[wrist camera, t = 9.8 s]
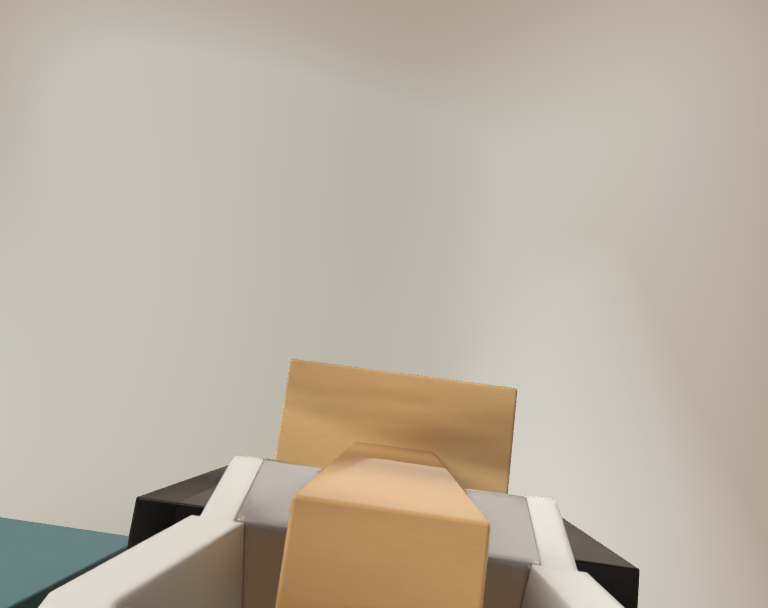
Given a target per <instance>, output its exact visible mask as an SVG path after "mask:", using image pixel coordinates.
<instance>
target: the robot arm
mask: <svg viewBox="0 0 768 608" xmlns="http://www.w3.org/2000/svg"><path fill="white" fill-rule="evenodd" d="M321 471H322V468H320V467H314V466H308V465H302V464H296V463H289V462H283V461H277V460H271V459H266V460H265V459H264V458H257V457H250V456H243V455H237V456H235V457H234V458H233V459H232V460H231V462H230V464H229V465H228V467H227V469H226V471H225V473H224V474H223V476H222V478H221V480H220V482H219V483H218V485H217V487H216V489H215V490H214V492H213V494H212V496H211V498H210V499H209V501H208V503H207V505H206V506H205V508H204V510H203V512H202V514H201V515H200V516H195V515H191V516H189V517H187V518H185V519H183V520H181V521H180V522H178V523H176V524H174V525H172V526H171V527H169V528H167V529H165V530H163V531H161V532H160V533H158V534H156V535H154V536H152V537H150V538H149V539H147V540H145V541H143V542H141V543H139V544H138V545H136V546H134V547H132V548H130V549H128V550H127V551H125V552H123V553H121V554H119V555H117V556H116V557H114V558H112V559H110V560H108V561H106V562H105V563H103V564H101V565H99V566H97V567H95V568H94V569H92V570H90V571H88V572H86V573H84V574H83V575H81V576H79V577H77V578H75V579H73V580H72V581H70V582H68V583H66V584H64V585H63V586H61V587H59V588H57V589H55V590H53V591H52V592H50V593H49V594H48V595H47V597H46V598H45V599H44V601H43V602H42V603H41V604H40V606H39V607H38V608H275V605H276V598H277V591H278V585H279V578H280V572H281V565H282V559H283V552H284V546H285V539H286V532H287V526H288V519H289V513H290V506H291V500H292V497H293V495H294V494H295V493H297V492H298V491H299V490H300V489H301V488H302V487H303V486H305V485H306V484H307V483H308V482H309V481H310V480H311V479H313V478H314V477H315V476H316V475H317V474H318V473H320V472H321ZM464 491H465V493H466V494H467V495H468V496H469V498H470V499H471V500H472V501H473V503H474V504H475V505H476V506H477V508H478V509H479V510H480V511H481V513H482V514H483V515H484V516H485V517H486V519H487V520H488V521H489V522H490V525H491V530H490V541H489V551H488V561H487V572H486V582H485V592H484V603H483V608H624V607H623V606H622V605H621V604H620V603H619V602H618V601H617V600H616V599H615V598H614V597H613V596H611V595H610V594H609V593H608V592H607V591H606V590H605V589H604V588H603V587H602V586H601V585H600V584H599V583H598V582H597V581H595V580H594V579H593V578H592V577H591V576H590V575H589V574H588V573H586V572H580V571H578V570H577V567H576V563H575V560H574V557H573V553H572V550H571V547H570V543H569V540H568V537H567V533H566V530H565V527H564V524H563V520H562V517H561V514H560V510H559V507H558V504H557V502H556V501H555V500H554V499H552V498H543V497H534V496H525V495H524V496H517V495H510V494H502V493H495V492H487V491H480V490H473V489H464Z"/></svg>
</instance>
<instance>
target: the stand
mask: <svg viewBox="0 0 768 608" xmlns="http://www.w3.org/2000/svg"><path fill="white" fill-rule="evenodd" d="M128 539H129V536H124V535H117V534H110V533H103V532H96V531H90V530H82V529H76V528H69V527H62V526H55V525H49V524H42V523H35V522H28V521H21V520H15V519H8V518H1V517H0V608H38V607H39V606H40V604H41V603H42V602H43V601H44V599H45V598H46V597H47V595H48V594H49V593H50V592H52V591H53V590H55V589H57V588H59V587H61V586H63V585H64V584H66V583H68V582H70V581H72V580H73V579H75V578H77V577H79V576H81V575H83V574H84V573H86V572H88V571H90V570H92V569H94V568H95V567H97V566H99V565H101V564H103V563H105V562H106V561H108V560H110V559H112V558H114V557H116V556H117V555H119V554H121V553H123V552H125V551H127V547H128Z"/></svg>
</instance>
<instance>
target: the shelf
mask: <svg viewBox="0 0 768 608" xmlns="http://www.w3.org/2000/svg"><path fill="white" fill-rule="evenodd" d="M227 467H228V466H225V467H222V468H219V469H216V470H213V471H210V472H207V473H205V474H202V475H199V476H196V477H193V478H191V479H187V480H185V481H182V482H179V483H176V484H173V485H170V486H167V487H165V488H162V489H159V490H156V491H153V492H150V493H148V494H145V495H142V496H139V497H137V498H136V503H135V508H134V513H133V518H132V523H131V529H130V534H129V539H128V547H127V550H128V549H130V548H132V547H134V546H136V545H138V544H139V543H141V542H143V541H145V540H147V539H149V538H150V537H152V536H154V535H156V534H158V533H160V532H161V531H163V530H165V529H167V528H169V527H171V526H172V525H174V524H176V523H178V522H180V521H181V520H183V519H185V518H187V517H189V516H191V515H195V516H200V515H201V514H202V512H203V510H204V508H205V506H206V505H207V503H208V501H209V499H210V498H211V496H212V494H213V492H214V490H215V489H216V487H217V485H218V483H219V482H220V480H221V478H222V476H223V474H224V473H225V471H226V469H227ZM562 520H563V524H564V527H565V530H566V533H567V537H568V540H569V543H570V547H571V550H572V553H573V557H574V560H575V563H576V567H577V570H578V571H580V572H586V573H588V574H589V575H590V576H591V577H592V578H593V579H594V580H595V581H597V582H598V583H599V584H600V585H601V586H602V587H603V588H604V589H605V590H606V591H607V592H608V593H609V594H610V595H611V596H613V597H614V598H615V599H616V600H617V601H618V602H619V603H620V604H621V605H622V606H623V607H624V608H637V605H638V587H639V569H638V568H636V567H635V566H633V565H632V564H630V563H629V562H627V561H626V560H624V559H623V558H621V557H620V556H618V555H617V554H615V553H614V552H612V551H611V550H609V549H608V548H606V547H605V546H603V545H602V544H601V543H599V542H597V541H596V540H595V539H593V538H592V537H590V536H588V535H587V534H586V533H584V532H583V531H581V530H580V529H578V528H577V527H575V526H574V525H572V524H571V523H569V522H568V521H566V520H565V519H563V518H562Z"/></svg>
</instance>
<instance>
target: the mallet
mask: <svg viewBox="0 0 768 608" xmlns="http://www.w3.org/2000/svg"><path fill="white" fill-rule="evenodd" d="M516 398H517V389H515V388H510V387H502V386H495V385H487V384H479V383H472V382H464V381H457V380H449V379H441V378H434V377H426V376H419V375H411V374H404V373H396V372H389V371H381V370H373V369H366V368H358V367H351V366H343V365H335V364H328V363H320V362H313V361H305V360H298V359H291V361H290V367H289V373H288V379H287V385H286V392H285V398H284V404H283V410H282V417H281V423H280V430H279V436H278V442H277V448H276V454H275V460H277V461H283V462H289V463H296V464H302V465H308V466H314V467H320V468H322V471H321V472H320V473H318V474H317V475H316V476H315V477H314V478H313V479H311V480H310V481H309V482H308V483H307V484H306V485H305V486H303V487H302V488H301V489H300V490H299V491H298V492H297V493H295V494H294V495H293V497H292V500H291V506H290V513H289V519H288V526H287V532H286V539H285V546H284V552H283V559H282V565H281V572H280V578H279V585H278V591H277V598H276V605H275V608H483V603H484V592H485V582H486V572H487V561H488V551H489V541H490V530H491V525H490V522H489V521H488V520H487V519H486V517H485V516H484V515H483V514H482V513H481V511H480V510H479V509H478V508H477V506H476V505H475V504H474V503H473V501H472V500H471V499H470V498H469V496H468V495H467V494H466V493H465V491H464V489H473V490H480V491H487V492H495V493H502V494H508V484H509V474H510V463H511V452H512V441H513V430H514V420H515V408H516Z"/></svg>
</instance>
